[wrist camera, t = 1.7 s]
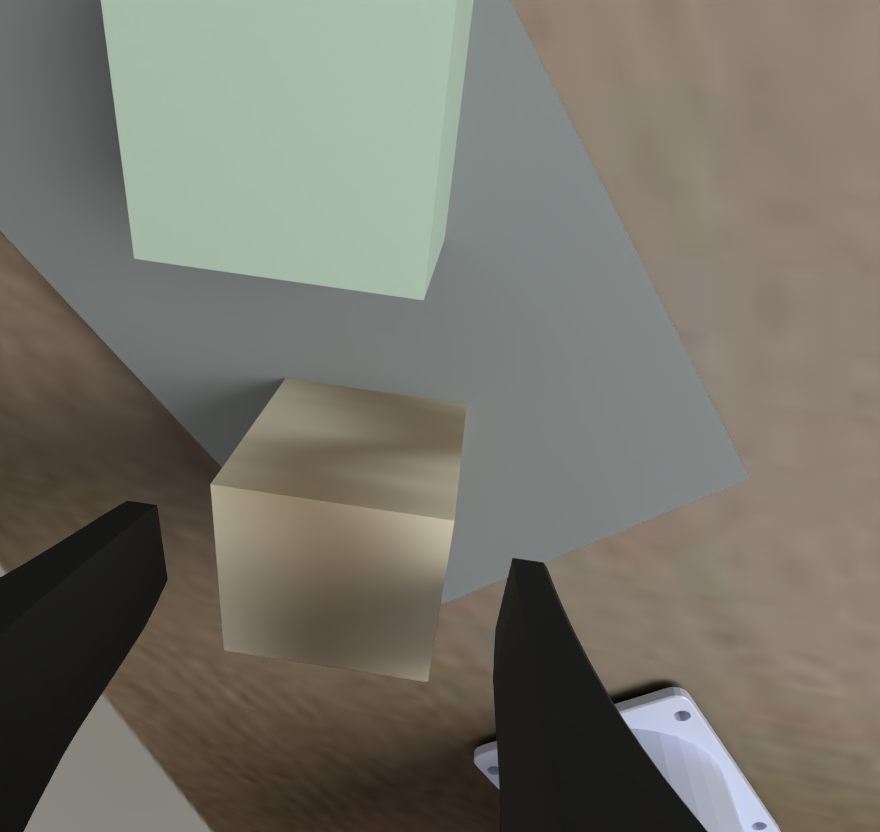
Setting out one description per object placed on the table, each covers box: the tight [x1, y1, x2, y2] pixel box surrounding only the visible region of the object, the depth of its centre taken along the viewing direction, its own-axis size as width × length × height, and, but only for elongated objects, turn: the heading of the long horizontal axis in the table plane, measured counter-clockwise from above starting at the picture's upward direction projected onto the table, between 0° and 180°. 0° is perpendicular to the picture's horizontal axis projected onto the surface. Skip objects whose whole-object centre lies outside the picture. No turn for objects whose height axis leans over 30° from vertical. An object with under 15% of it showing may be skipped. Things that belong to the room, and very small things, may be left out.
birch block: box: [210, 378, 467, 682], centre depth 14 cm, size 4×4×4 cm
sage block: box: [101, 0, 474, 300], centre depth 10 cm, size 4×4×4 cm
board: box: [0, 0, 750, 605], centre depth 14 cm, size 18×12×1 cm, turn 33°
